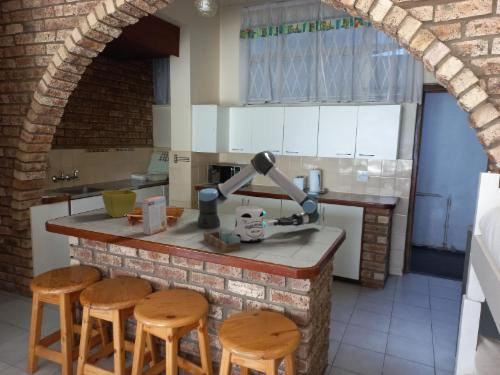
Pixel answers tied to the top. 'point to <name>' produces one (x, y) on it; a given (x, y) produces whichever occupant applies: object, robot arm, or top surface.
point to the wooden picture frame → (220, 242)
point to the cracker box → (154, 215)
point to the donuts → (263, 216)
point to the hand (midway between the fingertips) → (268, 224)
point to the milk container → (249, 223)
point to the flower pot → (119, 202)
